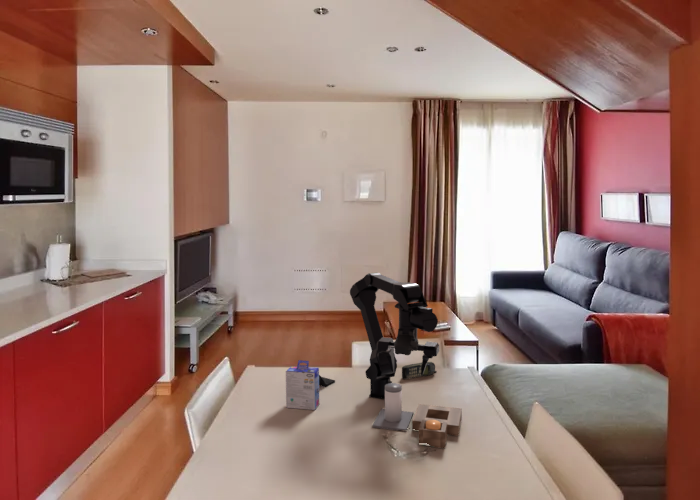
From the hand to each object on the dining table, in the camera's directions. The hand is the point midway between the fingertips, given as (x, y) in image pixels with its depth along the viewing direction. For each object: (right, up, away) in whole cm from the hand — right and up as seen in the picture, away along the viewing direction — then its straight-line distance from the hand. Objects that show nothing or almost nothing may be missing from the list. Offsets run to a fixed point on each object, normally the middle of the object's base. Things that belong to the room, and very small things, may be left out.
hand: (407, 373), depth 156 cm
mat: (-5, -13, -6) cm, 15 cm away
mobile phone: (+8, -9, +31) cm, 34 cm away
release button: (+5, -13, -20) cm, 24 cm away
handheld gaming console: (-30, -10, +25) cm, 40 cm away
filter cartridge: (-5, -12, -6) cm, 14 cm away
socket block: (+7, -13, -13) cm, 20 cm away
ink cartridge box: (-33, -12, +5) cm, 35 cm away
